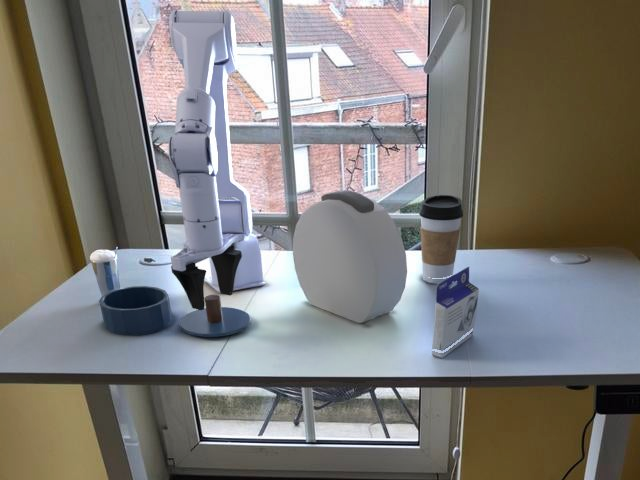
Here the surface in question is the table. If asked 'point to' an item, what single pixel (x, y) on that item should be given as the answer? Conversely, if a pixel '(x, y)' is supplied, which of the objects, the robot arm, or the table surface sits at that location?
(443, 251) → the coffee cup
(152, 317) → the tin
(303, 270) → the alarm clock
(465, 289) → the ink box
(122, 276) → the table surface
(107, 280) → the milkshake
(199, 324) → the lid
